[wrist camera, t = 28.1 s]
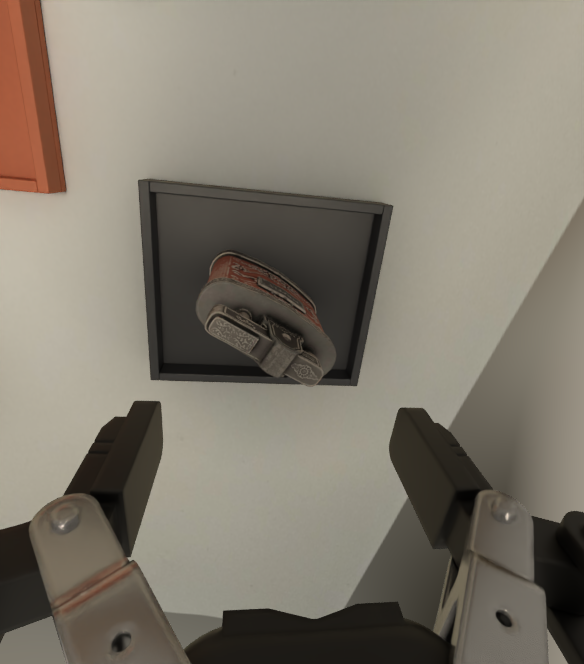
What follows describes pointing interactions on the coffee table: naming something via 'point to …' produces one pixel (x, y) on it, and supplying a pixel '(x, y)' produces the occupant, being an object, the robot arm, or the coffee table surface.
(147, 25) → the coffee table surface
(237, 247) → the charcoal tray
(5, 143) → the terracotta tray
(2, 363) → the coffee table surface
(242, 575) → the coffee table surface
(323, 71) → the coffee table surface
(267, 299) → the lighter
